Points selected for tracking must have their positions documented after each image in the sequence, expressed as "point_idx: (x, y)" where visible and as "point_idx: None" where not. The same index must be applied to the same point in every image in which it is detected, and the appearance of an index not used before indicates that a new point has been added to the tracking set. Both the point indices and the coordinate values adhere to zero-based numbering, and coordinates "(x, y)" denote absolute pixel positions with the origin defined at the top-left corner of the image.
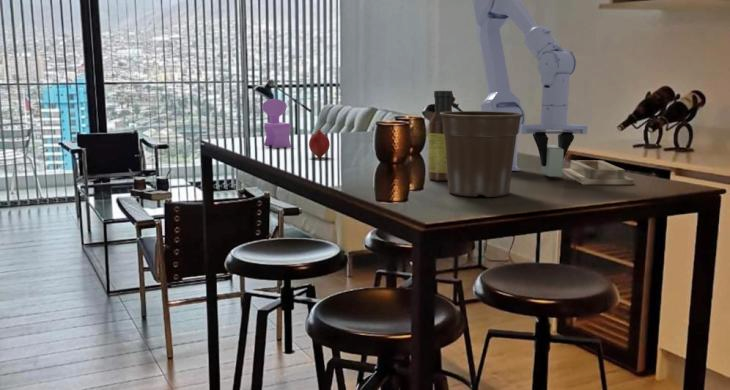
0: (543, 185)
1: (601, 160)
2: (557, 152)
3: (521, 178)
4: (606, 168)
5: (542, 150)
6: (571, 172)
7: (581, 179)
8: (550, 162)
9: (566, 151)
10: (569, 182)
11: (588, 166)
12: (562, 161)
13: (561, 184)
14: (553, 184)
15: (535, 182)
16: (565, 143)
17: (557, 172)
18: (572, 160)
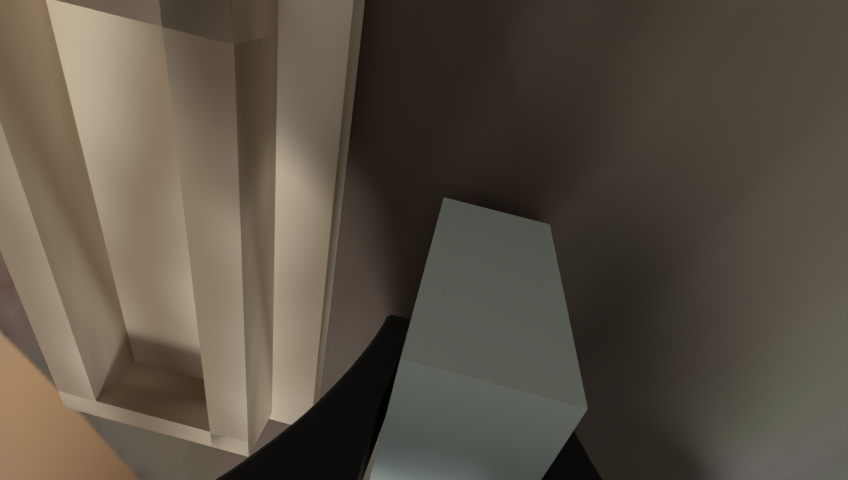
0: (747, 2)
1: (70, 408)
2: (484, 350)
3: (658, 338)
4: (66, 235)
5: (590, 474)
6: (307, 319)
7: (353, 2)
8: (553, 289)
9: (327, 396)
10: (423, 110)
11: (193, 225)
12: (432, 265)
13: (543, 23)
14: (613, 40)
15: (689, 174)
16: (319, 477)
17: (481, 222)
18: (238, 452)
